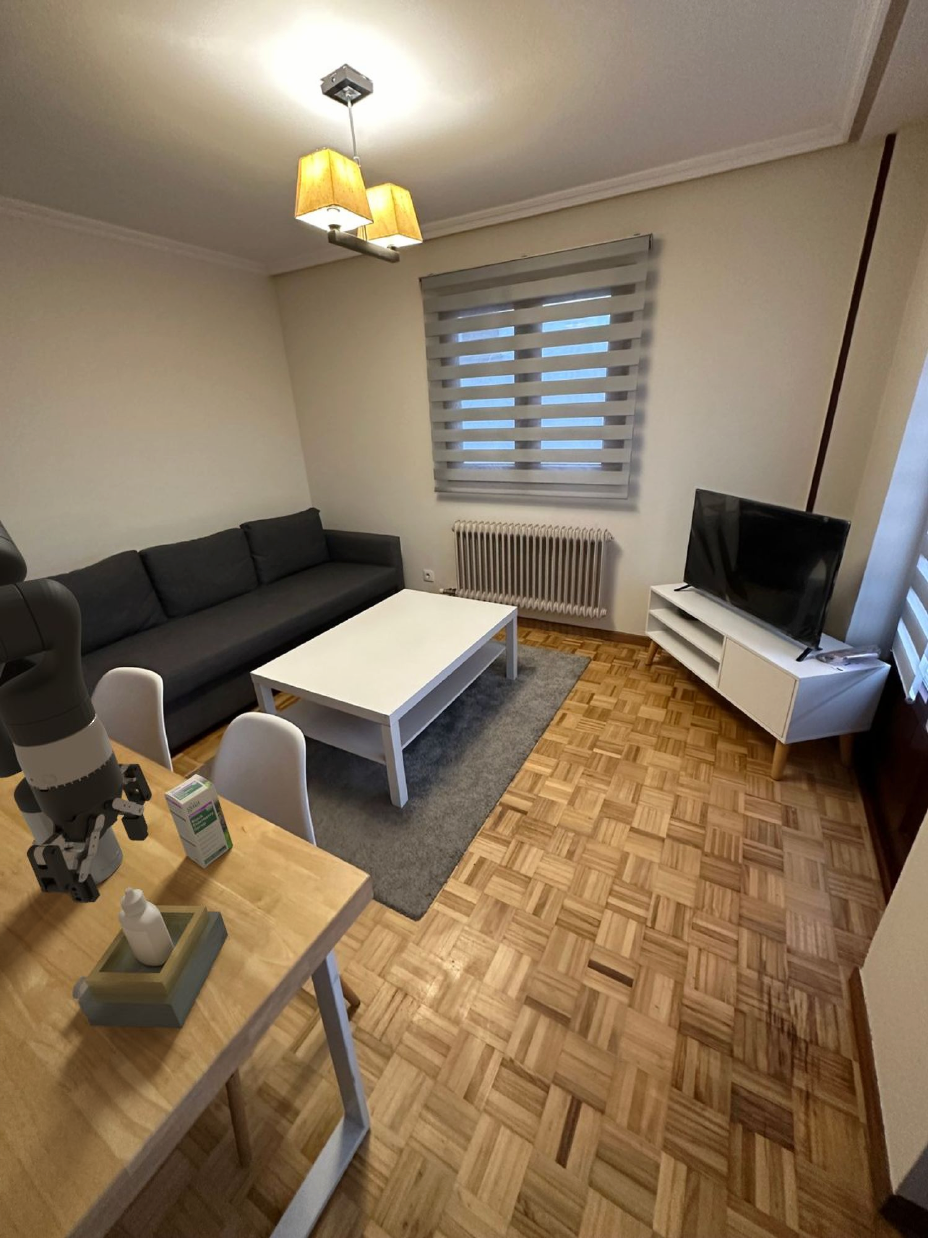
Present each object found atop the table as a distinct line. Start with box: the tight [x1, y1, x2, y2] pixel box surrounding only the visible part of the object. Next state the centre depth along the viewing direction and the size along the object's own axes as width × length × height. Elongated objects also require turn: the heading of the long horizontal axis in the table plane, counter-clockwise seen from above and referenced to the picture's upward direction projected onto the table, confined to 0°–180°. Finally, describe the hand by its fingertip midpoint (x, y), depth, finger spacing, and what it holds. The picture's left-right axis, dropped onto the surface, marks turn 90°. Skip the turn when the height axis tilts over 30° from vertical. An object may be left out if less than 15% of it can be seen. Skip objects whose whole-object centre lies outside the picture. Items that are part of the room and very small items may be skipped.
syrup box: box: [163, 773, 234, 869], centre depth 84 cm, size 6×6×14 cm
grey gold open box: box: [71, 904, 229, 1029], centre depth 65 cm, size 15×12×8 cm
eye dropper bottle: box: [117, 886, 174, 966], centre depth 63 cm, size 4×6×12 cm
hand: (116, 867), depth 58 cm, fingers open, 8 cm apart
